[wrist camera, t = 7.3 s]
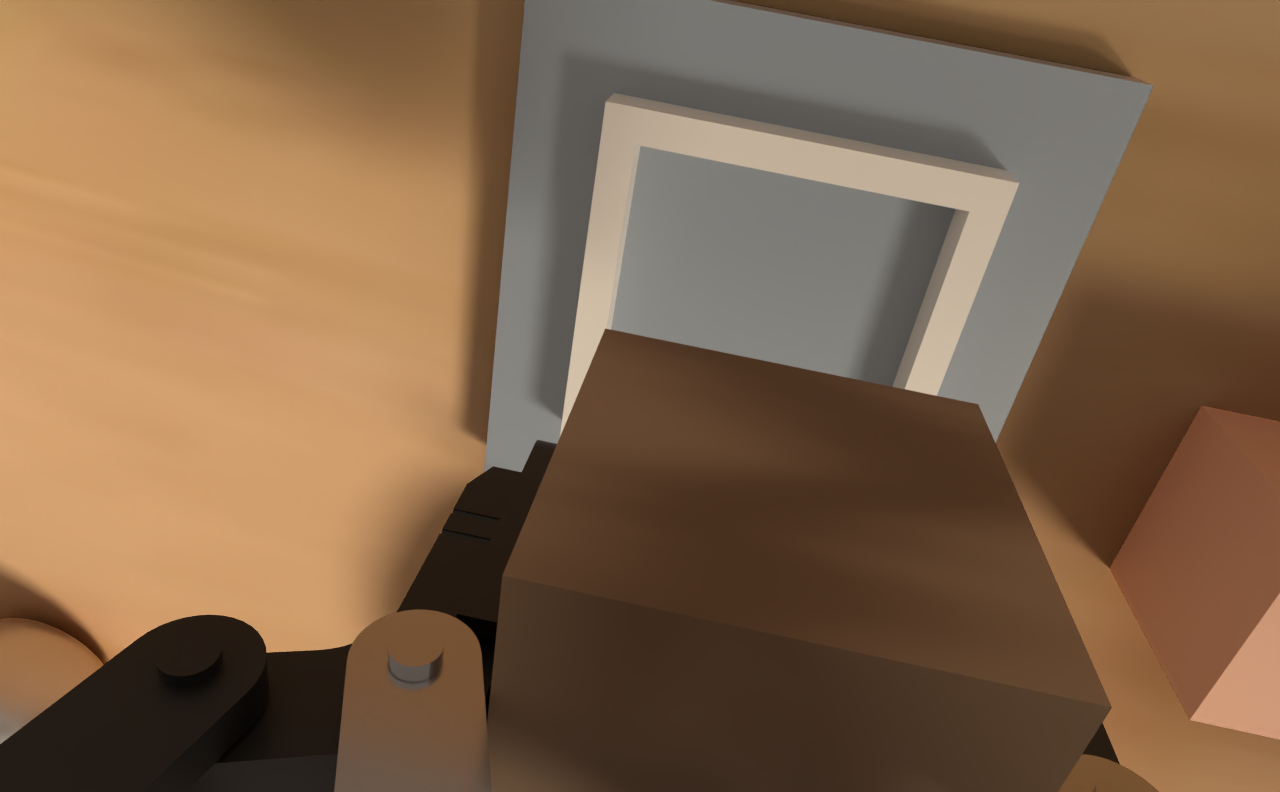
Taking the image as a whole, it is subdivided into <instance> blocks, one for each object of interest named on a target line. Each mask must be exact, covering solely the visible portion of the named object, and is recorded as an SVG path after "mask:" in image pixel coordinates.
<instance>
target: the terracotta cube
mask: <svg viewBox="0 0 1280 792" xmlns="http://www.w3.org/2000/svg"><path fill="white" fill-rule="evenodd" d="M1110 570H1111V572H1112V574H1113V576H1114V577H1115V579H1116V581H1117V583H1118V585H1119V587H1120V589H1121V591H1122V593H1123V595H1124V596H1125V598H1126V600H1127V602H1128V604H1129V606H1130V608H1131V610H1132V612H1133V613H1134V615H1135V617H1136V619H1137V621H1138V623H1139V625H1140V627H1141V629H1142V631H1143V632H1144V634H1145V636H1146V638H1147V640H1148V642H1149V644H1150V646H1151V648H1152V649H1153V651H1154V653H1155V655H1156V657H1157V659H1158V661H1159V663H1160V665H1161V666H1162V668H1163V670H1164V672H1165V674H1166V676H1167V678H1168V680H1169V682H1170V684H1171V685H1172V687H1173V689H1174V691H1175V693H1176V695H1177V697H1178V699H1179V701H1180V702H1181V704H1182V706H1183V708H1184V710H1185V712H1186V714H1187V716H1188V718H1189V720H1192V721H1197V722H1201V723H1206V724H1211V725H1215V726H1220V727H1224V728H1229V729H1233V730H1238V731H1243V732H1247V733H1252V734H1256V735H1261V736H1265V737H1270V738H1275V739H1279V740H1280V421H1276V420H1271V419H1266V418H1261V417H1256V416H1251V415H1246V414H1241V413H1236V412H1231V411H1226V410H1222V409H1217V408H1212V407H1207V406H1201V408H1200V409H1199V411H1198V413H1197V415H1196V416H1195V418H1194V420H1193V422H1192V423H1191V425H1190V427H1189V429H1188V431H1187V432H1186V434H1185V436H1184V438H1183V439H1182V441H1181V443H1180V445H1179V446H1178V448H1177V450H1176V452H1175V453H1174V455H1173V457H1172V459H1171V461H1170V462H1169V464H1168V466H1167V468H1166V469H1165V471H1164V473H1163V475H1162V476H1161V478H1160V480H1159V482H1158V483H1157V485H1156V487H1155V489H1154V491H1153V492H1152V494H1151V496H1150V498H1149V499H1148V501H1147V503H1146V505H1145V506H1144V508H1143V510H1142V512H1141V513H1140V515H1139V517H1138V519H1137V521H1136V522H1135V524H1134V526H1133V528H1132V529H1131V531H1130V533H1129V535H1128V536H1127V538H1126V540H1125V542H1124V543H1123V545H1122V547H1121V549H1120V551H1119V552H1118V554H1117V556H1116V558H1115V559H1114V561H1113V563H1112V565H1111V566H1110Z"/></svg>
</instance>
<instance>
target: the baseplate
mask: <svg viewBox="0 0 1280 792" xmlns="http://www.w3.org/2000/svg"><path fill="white" fill-rule="evenodd" d="M1153 86H1154V85H1152V84H1149V83H1147V82H1144V81H1142V80H1139V79H1137V78H1134V77H1129V76H1124V75H1119V74H1113V73H1108V72H1103V71H1098V70H1092V69H1087V68H1082V67H1077V66H1072V65H1066V64H1061V63H1056V62H1051V61H1045V60H1040V59H1035V58H1030V57H1025V56H1019V55H1014V54H1009V53H1004V52H998V51H993V50H988V49H983V48H978V47H972V46H967V45H962V44H957V43H951V42H946V41H941V40H936V39H931V38H925V37H920V36H915V35H910V34H904V33H899V32H894V31H889V30H883V29H878V28H873V27H868V26H863V25H857V24H852V23H847V22H842V21H836V20H831V19H826V18H821V17H816V16H810V15H805V14H800V13H795V12H789V11H784V10H779V9H774V8H769V7H763V6H758V5H753V4H748V3H742V2H737V1H732V0H525V5H524V16H523V28H522V39H521V51H520V63H519V74H518V86H517V97H516V109H515V121H514V132H513V144H512V155H511V167H510V179H509V190H508V202H507V213H506V225H505V237H504V248H503V260H502V272H501V283H500V295H499V306H498V318H497V330H496V341H495V353H494V364H493V376H492V388H491V399H490V411H489V422H488V434H487V446H486V457H485V469H484V472H486V471H487V470H488V469H490V468H491V467H493V466H494V467H499V468H504V469H508V470H513V471H518V472H522V470H523V468H524V466H525V464H526V462H527V459H528V457H529V455H530V453H531V451H532V449H533V446H534V444H535V442H536V441H537V440H542V441H546V442H551V443H556V444H557V443H558V441H559V438H560V436H561V434H562V431H563V429H564V426H565V424H566V422H567V419H568V417H569V414H570V412H571V410H572V407H573V405H574V402H575V400H576V398H577V395H578V393H579V390H580V388H581V386H582V383H583V381H584V378H585V376H586V374H587V371H588V369H589V366H590V364H591V362H592V359H593V357H594V354H595V352H596V350H597V347H598V345H599V342H600V340H601V338H602V335H603V333H604V330H605V328H606V329H611V330H616V331H621V332H626V333H631V334H635V335H640V336H645V337H650V338H655V339H660V340H665V341H670V342H675V343H680V344H685V345H689V346H694V347H699V348H704V349H709V350H714V351H719V352H724V353H729V354H734V355H739V356H744V357H748V358H753V359H758V360H763V361H768V362H773V363H778V364H783V365H788V366H793V367H798V368H803V369H807V370H812V371H817V372H822V373H827V374H832V375H837V376H842V377H847V378H852V379H857V380H862V381H866V382H871V383H876V384H881V385H886V386H891V387H896V388H901V389H906V390H911V391H916V392H921V393H925V394H930V395H935V396H940V397H945V398H950V399H955V400H960V401H965V402H970V403H975V404H978V405H979V407H980V409H981V412H982V414H983V416H984V418H985V421H986V423H987V425H988V427H989V430H990V432H991V434H992V437H993V439H994V441H995V443H996V441H997V439H998V436H999V434H1000V432H1001V430H1002V427H1003V425H1004V423H1005V421H1006V418H1007V416H1008V414H1009V412H1010V409H1011V407H1012V405H1013V403H1014V400H1015V398H1016V396H1017V393H1018V391H1019V389H1020V387H1021V384H1022V382H1023V380H1024V378H1025V375H1026V373H1027V371H1028V369H1029V366H1030V364H1031V362H1032V360H1033V357H1034V355H1035V353H1036V351H1037V348H1038V346H1039V344H1040V342H1041V339H1042V337H1043V335H1044V333H1045V330H1046V328H1047V326H1048V324H1049V321H1050V319H1051V317H1052V314H1053V312H1054V310H1055V308H1056V305H1057V303H1058V301H1059V299H1060V296H1061V294H1062V292H1063V290H1064V287H1065V285H1066V283H1067V281H1068V278H1069V276H1070V274H1071V272H1072V269H1073V267H1074V265H1075V263H1076V260H1077V258H1078V256H1079V254H1080V251H1081V249H1082V247H1083V244H1084V242H1085V240H1086V238H1087V235H1088V233H1089V231H1090V229H1091V226H1092V224H1093V222H1094V220H1095V217H1096V215H1097V213H1098V211H1099V208H1100V206H1101V204H1102V202H1103V199H1104V197H1105V195H1106V193H1107V190H1108V188H1109V186H1110V184H1111V181H1112V179H1113V177H1114V175H1115V172H1116V170H1117V168H1118V165H1119V163H1120V161H1121V159H1122V156H1123V154H1124V152H1125V150H1126V147H1127V145H1128V143H1129V141H1130V138H1131V136H1132V134H1133V132H1134V129H1135V127H1136V125H1137V123H1138V120H1139V118H1140V116H1141V114H1142V111H1143V109H1144V107H1145V105H1146V102H1147V100H1148V98H1149V96H1150V93H1151V91H1152V89H1153Z"/></svg>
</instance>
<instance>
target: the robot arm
mask: <svg viewBox="0 0 1280 792" xmlns="http://www.w3.org/2000/svg"><path fill="white" fill-rule="evenodd" d="M556 446H557V444H556V443H551V442H546V441H542V440H537V441H536V442H535V444H534V446H533V449H532V451H531V453H530V455H529V457H528V459H527V462H526V464H525V466H524V468H523V470H522V472H518V471H513V470H508V469H504V468H499V467H494V466H493V467H491V468H490V469H488V470H487V471H486V472H484V473H483V474H481V475H480V476H478V477H477V478H475V479H474V480H473V481H471V482H470V483H468V484H467V485H466V487H465V489H464V491H463V493H462V494H461V496H460V498H459V500H458V502H457V504H456V505H455V507H454V511H453V514H452V513H451V515H450V516H449V518H448V520H447V522H446V524H445V525H444V527H443V531H442V534H440V535H439V536H438V538H437V540H436V542H435V544H434V546H433V547H432V549H431V551H430V553H429V555H428V556H427V558H426V560H425V562H424V564H423V566H422V567H421V569H420V571H419V573H418V575H417V577H416V578H415V580H414V582H413V584H412V586H411V587H410V589H409V591H408V593H407V595H406V597H405V598H404V600H403V602H402V604H401V606H400V608H399V609H398V611H397V612H396V613H393V614H390V615H387V616H385V617H382V618H380V619H379V620H377V621H375V622H373V623H372V624H370V625H369V626H368V627H366V628H365V629H364V630H363V631H362V632H361V633H360V634H359V635H358V636H357V638H356V639H355V640H354V642H353V643H352V644H349V645H346V646H343V647H338V648H333V649H326V650H314V651H293V652H272V653H266V646H265V644H264V641H263V639H262V637H261V636H260V634H259V633H258V632H257V631H256V630H255V629H254V628H253V627H252V626H250V625H248V624H247V623H245V622H243V621H240V620H238V619H235V618H231V617H227V616H220V615H198V616H192V617H186V618H182V619H178V620H175V621H171V622H169V623H166V624H164V625H161V626H159V627H157V628H155V629H153V630H151V631H149V632H147V633H146V634H144V635H143V636H142V637H140V638H139V639H137V640H136V641H134V642H133V643H132V644H131V645H129V646H128V647H127V648H125V649H124V650H123V651H121V652H120V653H119V654H117V655H116V656H115V657H114V658H112V659H111V660H110V661H108V662H107V663H106V664H104V665H103V666H102V667H100V668H99V669H98V670H97V671H95V672H94V673H93V674H91V675H90V676H89V677H87V678H86V679H85V680H83V681H82V682H81V683H80V684H78V685H77V686H76V687H74V688H73V689H72V690H70V691H69V692H68V693H66V694H65V695H64V696H63V697H61V698H60V699H59V700H57V701H56V702H55V703H53V704H52V705H51V706H49V707H48V708H47V709H46V710H44V711H43V712H42V713H40V714H39V715H38V716H36V717H35V718H34V719H32V720H31V721H30V722H29V723H27V724H26V725H25V726H23V727H22V728H21V729H19V730H18V731H17V732H15V733H14V734H13V735H12V736H10V737H9V738H8V739H6V740H5V741H4V742H2V743H1V744H0V792H492V788H491V775H490V761H489V747H488V734H487V721H488V711H489V701H490V691H491V682H492V672H493V662H494V652H495V643H496V633H497V623H498V613H499V603H500V594H501V584H502V575H503V573H504V570H505V568H506V566H507V563H508V561H509V558H510V556H511V554H512V551H513V549H514V546H515V544H516V542H517V539H518V537H519V534H520V532H521V530H522V527H523V525H524V522H525V520H526V518H527V515H528V513H529V510H530V508H531V506H532V503H533V501H534V498H535V496H536V494H537V491H538V489H539V486H540V484H541V482H542V479H543V477H544V474H545V472H546V470H547V467H548V465H549V462H550V460H551V458H552V455H553V453H554V450H555V448H556ZM1058 792H1159V791H1158V790H1157V789H1156V788H1154V787H1153V786H1152V785H1151V784H1150V783H1148V782H1147V781H1146V780H1145V779H1143V778H1142V777H1140V776H1139V775H1137V774H1136V773H1134V772H1133V771H1131V770H1129V769H1128V768H1126V767H1124V766H1122V765H1120V764H1119V761H1118V759H1117V756H1116V754H1115V752H1114V749H1113V747H1112V745H1111V742H1110V740H1109V737H1108V735H1107V733H1106V730H1105V728H1104V725H1103V723H1102V724H1101V725H1100V727H1099V728H1098V730H1097V731H1096V733H1095V735H1094V736H1093V738H1092V739H1091V741H1090V742H1089V744H1088V746H1087V747H1086V749H1085V750H1084V752H1083V753H1082V755H1081V757H1080V758H1079V760H1078V761H1077V763H1076V764H1075V766H1074V768H1073V769H1072V771H1071V772H1070V774H1069V775H1068V777H1067V779H1066V780H1065V782H1064V783H1063V785H1062V787H1061V788H1060V790H1059V791H1058Z"/></svg>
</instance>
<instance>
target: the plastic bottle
mask: <svg viewBox="0 0 1280 792" xmlns="http://www.w3.org/2000/svg"><path fill="white" fill-rule="evenodd" d="M102 666H103V663H102V662H101V661H100V659H99V658H98V657H97V656H96V655H95V654H94V653H93V652H92V651H91V650H90V649H88V648H87V647H86V646H85V645H83V644H82V643H81V642H79V641H78V640H77V639H75V638H74V637H72V636H70V635H68V634H67V633H65V632H63V631H62V630H59V629H57V628H55V627H52V626H50V625H48V624H45V623H41V622H38V621H35V620H30V619H23V618H3V619H0V744H1V743H2V742H4V741H5V740H6V739H8V738H9V737H10V736H12V735H13V734H14V733H15V732H17V731H18V730H19V729H21V728H22V727H23V726H25V725H26V724H27V723H29V722H30V721H31V720H32V719H34V718H35V717H36V716H38V715H39V714H40V713H42V712H43V711H44V710H46V709H47V708H48V707H49V706H51V705H52V704H53V703H55V702H56V701H57V700H59V699H60V698H61V697H63V696H64V695H65V694H66V693H68V692H69V691H70V690H72V689H73V688H74V687H76V686H77V685H78V684H80V683H81V682H82V681H83V680H85V679H86V678H87V677H89V676H90V675H91V674H93V673H94V672H95V671H97V670H98V669H99V668H100V667H102Z"/></svg>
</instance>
